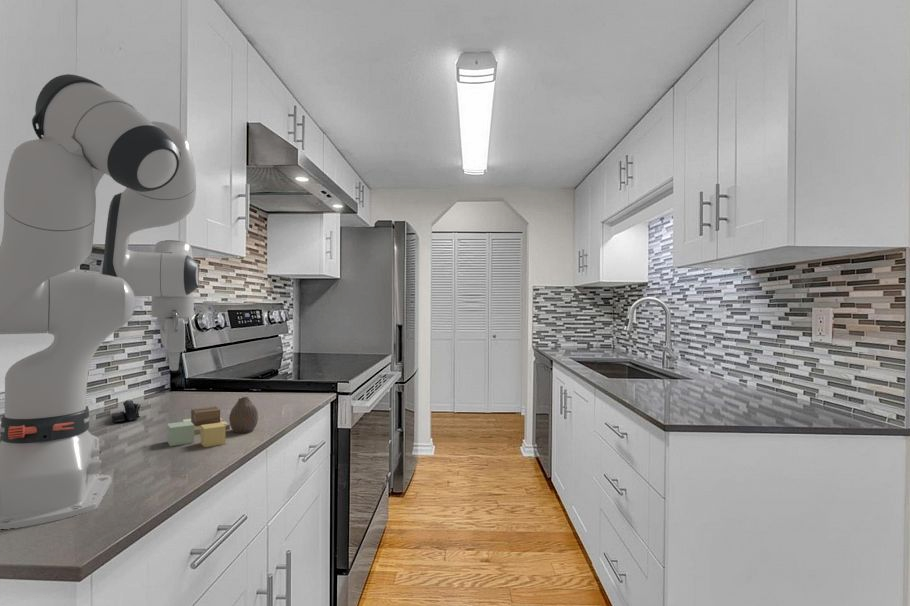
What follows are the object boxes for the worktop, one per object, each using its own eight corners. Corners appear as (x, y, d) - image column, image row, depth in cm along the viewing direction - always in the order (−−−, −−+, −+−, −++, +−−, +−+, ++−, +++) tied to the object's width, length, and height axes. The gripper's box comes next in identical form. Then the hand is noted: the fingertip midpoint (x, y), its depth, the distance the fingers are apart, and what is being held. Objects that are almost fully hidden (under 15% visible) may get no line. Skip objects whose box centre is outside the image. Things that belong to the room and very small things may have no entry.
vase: (246, 435, 125) (246, 401, 125) (223, 433, 127) (223, 399, 127) (263, 429, 132) (263, 396, 132) (241, 427, 134) (241, 394, 134)
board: (229, 429, 131) (229, 425, 131) (191, 434, 126) (191, 430, 126) (217, 419, 142) (217, 415, 142) (182, 424, 137) (182, 419, 137)
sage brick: (194, 443, 118) (194, 424, 118) (170, 447, 115) (170, 427, 115) (190, 439, 122) (190, 420, 122) (166, 442, 119) (167, 423, 119)
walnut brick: (220, 422, 134) (220, 409, 134) (195, 426, 130) (195, 412, 130) (215, 418, 138) (215, 406, 138) (191, 421, 135) (191, 408, 135)
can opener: (140, 422, 139) (141, 402, 139) (110, 425, 135) (110, 405, 135) (143, 410, 154) (143, 392, 154) (116, 413, 151) (116, 394, 151)
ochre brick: (225, 445, 117) (225, 426, 117) (204, 448, 115) (204, 428, 115) (220, 440, 121) (221, 422, 121) (200, 443, 118) (200, 425, 118)
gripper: (192, 311, 112) (191, 372, 112) (184, 308, 129) (183, 361, 129) (160, 311, 108) (159, 374, 108) (155, 308, 125) (155, 362, 125)
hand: (172, 367), depth 119 cm, fingers open, 8 cm apart
